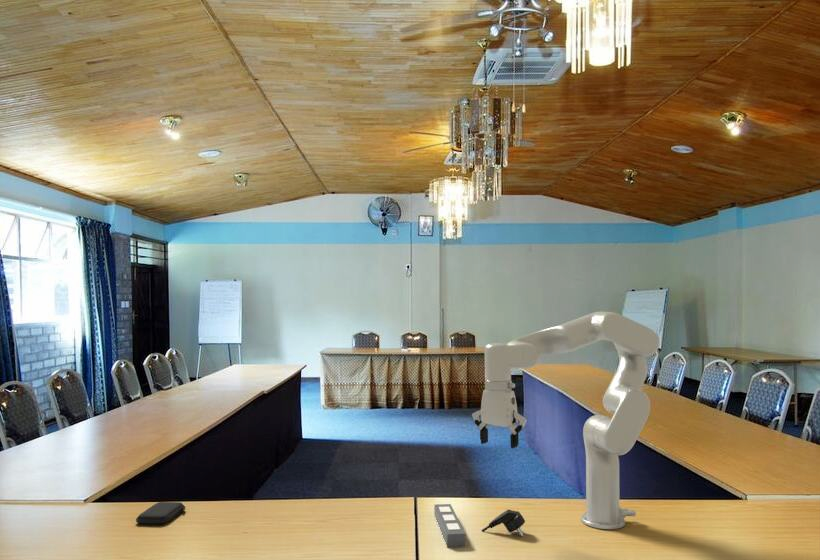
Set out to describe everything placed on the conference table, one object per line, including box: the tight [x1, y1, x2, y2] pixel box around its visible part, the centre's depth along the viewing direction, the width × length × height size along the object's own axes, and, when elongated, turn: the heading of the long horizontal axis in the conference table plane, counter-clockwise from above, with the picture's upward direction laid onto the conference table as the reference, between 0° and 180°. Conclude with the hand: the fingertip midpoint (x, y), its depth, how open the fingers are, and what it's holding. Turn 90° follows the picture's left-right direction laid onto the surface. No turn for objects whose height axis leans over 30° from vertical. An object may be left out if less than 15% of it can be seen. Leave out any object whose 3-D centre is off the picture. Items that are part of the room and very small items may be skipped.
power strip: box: [433, 503, 467, 548], centre depth 178 cm, size 5×24×4 cm, turn 6°
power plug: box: [481, 509, 526, 537], centre depth 176 cm, size 6×8×12 cm
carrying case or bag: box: [135, 501, 186, 526], centre depth 188 cm, size 11×3×15 cm
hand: (499, 445), depth 179 cm, fingers open, 9 cm apart
